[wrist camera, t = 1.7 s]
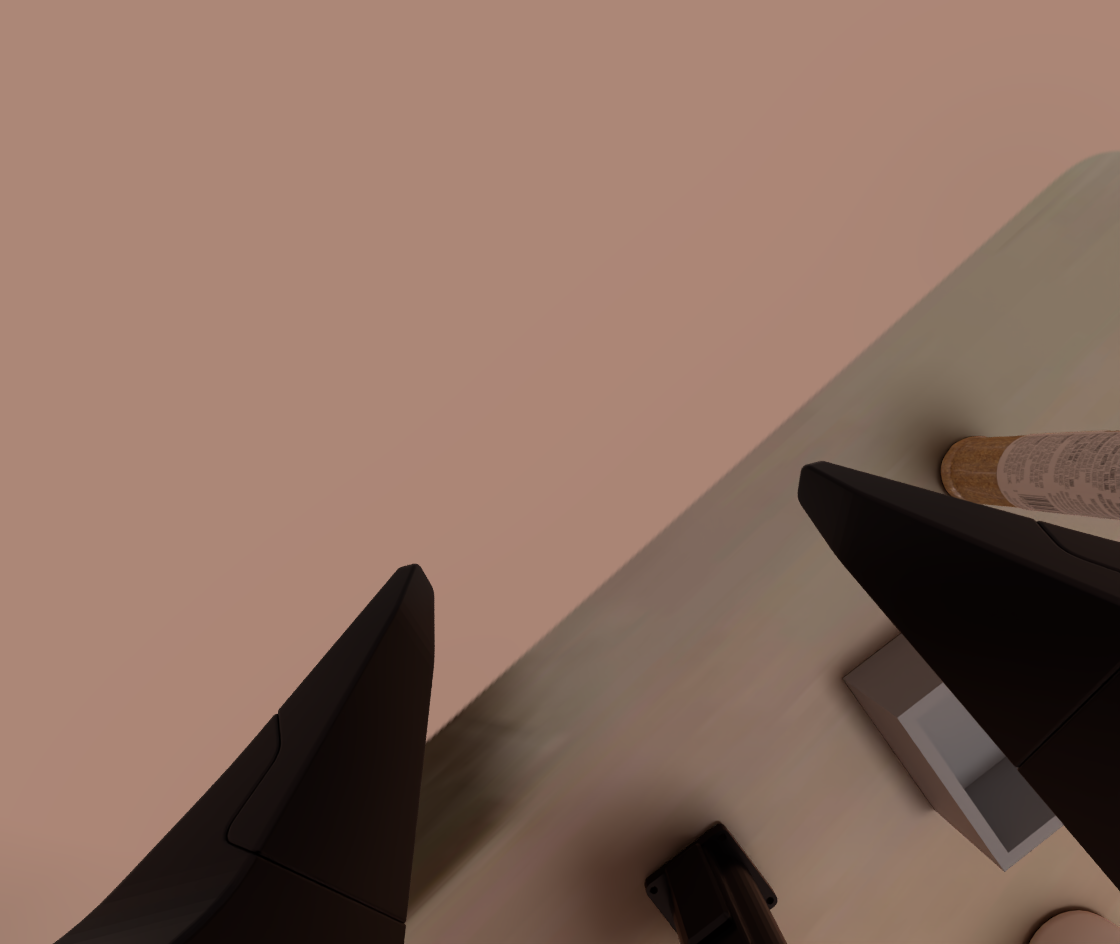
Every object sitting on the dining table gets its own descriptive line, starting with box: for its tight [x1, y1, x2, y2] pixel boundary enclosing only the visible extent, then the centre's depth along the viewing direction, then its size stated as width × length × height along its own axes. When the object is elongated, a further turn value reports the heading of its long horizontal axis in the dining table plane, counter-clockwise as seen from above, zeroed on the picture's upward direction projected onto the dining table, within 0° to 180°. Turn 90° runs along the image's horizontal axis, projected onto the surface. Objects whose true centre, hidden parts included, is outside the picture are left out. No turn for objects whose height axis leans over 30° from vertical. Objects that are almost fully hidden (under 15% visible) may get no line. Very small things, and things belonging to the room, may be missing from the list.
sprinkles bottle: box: [941, 430, 1120, 520], centre depth 20 cm, size 5×5×14 cm
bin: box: [843, 634, 1063, 872], centre depth 25 cm, size 12×12×4 cm
